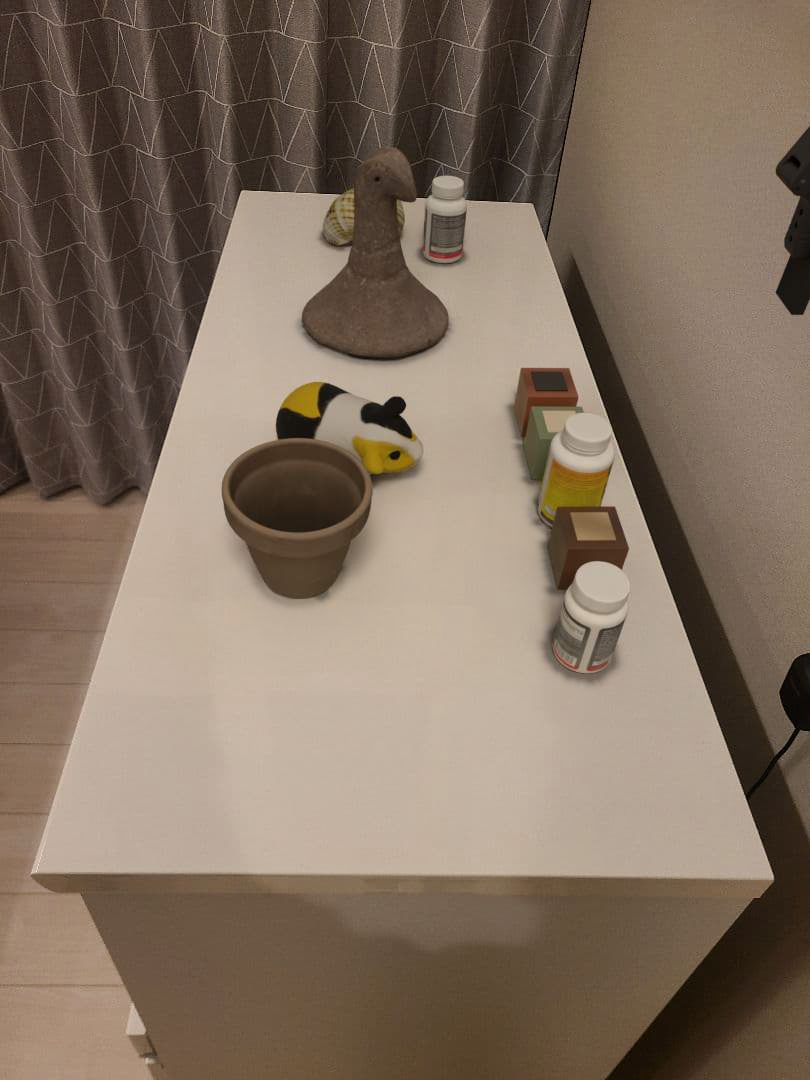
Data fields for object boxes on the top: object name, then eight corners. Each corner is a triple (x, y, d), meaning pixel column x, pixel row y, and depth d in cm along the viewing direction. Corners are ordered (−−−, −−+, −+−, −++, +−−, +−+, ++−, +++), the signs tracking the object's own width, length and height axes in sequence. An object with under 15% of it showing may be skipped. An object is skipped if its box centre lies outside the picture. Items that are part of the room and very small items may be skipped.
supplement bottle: (602, 535, 75) (629, 447, 68) (542, 536, 75) (562, 447, 67) (588, 493, 79) (612, 406, 72) (531, 494, 79) (549, 406, 71)
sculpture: (427, 374, 92) (441, 194, 77) (282, 347, 94) (270, 167, 80) (460, 300, 103) (477, 131, 89) (330, 278, 106) (327, 109, 92)
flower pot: (397, 560, 72) (402, 471, 65) (316, 647, 65) (312, 558, 58) (291, 506, 76) (285, 417, 69) (205, 582, 69) (188, 492, 62)
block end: (569, 437, 85) (579, 395, 81) (521, 437, 85) (528, 395, 81) (560, 407, 89) (569, 366, 85) (513, 407, 88) (520, 366, 85)
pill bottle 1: (470, 257, 111) (478, 183, 104) (440, 268, 109) (447, 194, 102) (443, 242, 114) (449, 169, 107) (413, 252, 112) (417, 179, 105)
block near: (615, 589, 71) (629, 547, 67) (557, 589, 70) (568, 547, 67) (602, 547, 74) (615, 504, 70) (547, 547, 74) (557, 504, 70)
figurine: (399, 512, 76) (403, 443, 70) (260, 460, 80) (253, 391, 75) (437, 461, 81) (443, 393, 76) (304, 415, 86) (301, 347, 80)
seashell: (305, 235, 112) (324, 157, 108) (349, 246, 120) (368, 173, 116) (363, 256, 107) (384, 175, 104) (404, 266, 115) (426, 191, 112)
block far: (582, 479, 80) (593, 437, 77) (531, 479, 80) (539, 437, 76) (572, 446, 84) (582, 405, 80) (523, 446, 84) (531, 404, 80)
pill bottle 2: (610, 631, 67) (635, 561, 61) (612, 679, 64) (638, 609, 58) (551, 623, 68) (571, 552, 62) (550, 670, 64) (570, 600, 58)
